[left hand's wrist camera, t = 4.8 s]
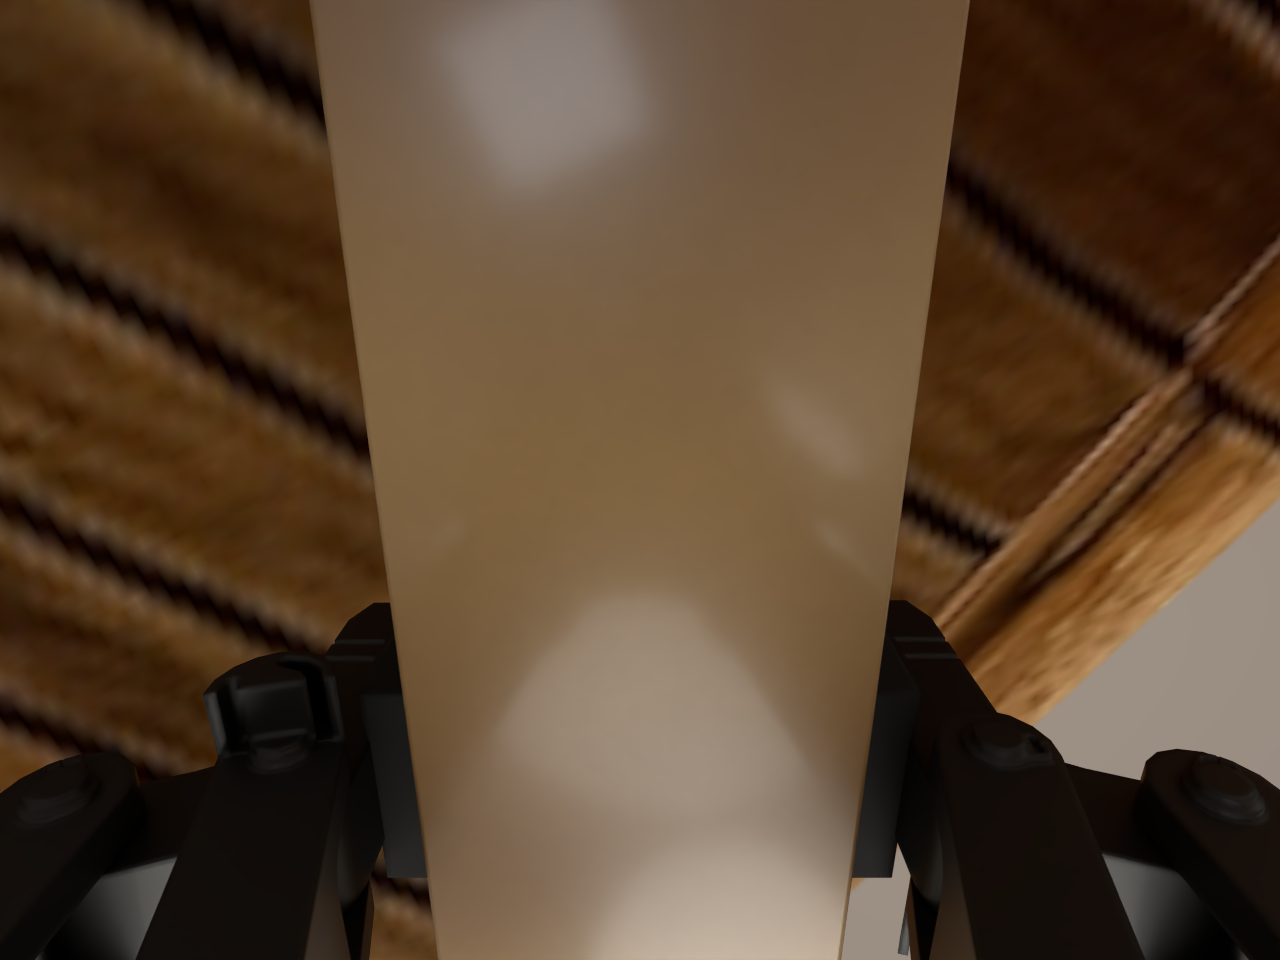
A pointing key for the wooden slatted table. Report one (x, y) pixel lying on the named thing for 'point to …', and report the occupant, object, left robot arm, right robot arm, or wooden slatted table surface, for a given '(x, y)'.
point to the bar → (639, 441)
